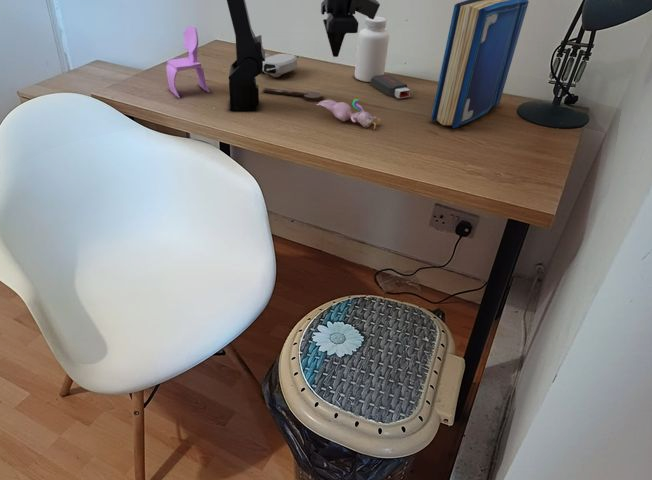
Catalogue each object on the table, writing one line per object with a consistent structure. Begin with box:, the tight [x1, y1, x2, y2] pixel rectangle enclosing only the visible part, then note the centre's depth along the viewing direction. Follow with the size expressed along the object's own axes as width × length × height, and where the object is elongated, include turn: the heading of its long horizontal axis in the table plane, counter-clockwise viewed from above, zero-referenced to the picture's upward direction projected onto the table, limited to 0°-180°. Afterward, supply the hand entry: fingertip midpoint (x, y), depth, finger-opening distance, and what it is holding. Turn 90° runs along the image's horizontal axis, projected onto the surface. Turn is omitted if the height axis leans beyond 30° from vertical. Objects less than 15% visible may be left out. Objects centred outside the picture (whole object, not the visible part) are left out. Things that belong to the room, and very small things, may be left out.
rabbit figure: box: [316, 98, 381, 130], centre depth 119 cm, size 6×6×15 cm
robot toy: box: [262, 53, 303, 78], centre depth 146 cm, size 12×4×15 cm
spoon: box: [262, 87, 322, 102], centre depth 133 cm, size 15×4×1 cm, turn 73°
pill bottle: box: [354, 15, 390, 83], centre depth 139 cm, size 8×8×15 cm
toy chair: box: [165, 26, 210, 99], centre depth 129 cm, size 8×9×15 cm
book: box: [430, 0, 529, 129], centre depth 117 cm, size 22×7×25 cm, turn 134°
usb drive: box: [370, 73, 411, 100], centre depth 136 cm, size 5×12×3 cm, turn 24°
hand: (335, 56), depth 120 cm, fingers closed
